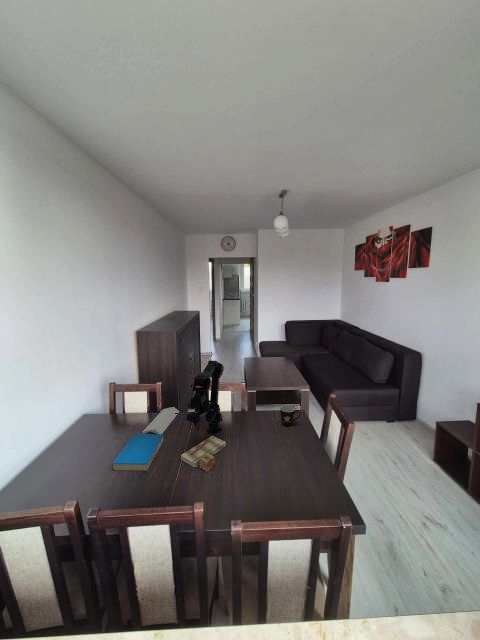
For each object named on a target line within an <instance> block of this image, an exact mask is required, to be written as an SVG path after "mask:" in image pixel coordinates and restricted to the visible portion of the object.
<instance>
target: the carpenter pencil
mask: <svg viewBox="0 0 480 640" xmlns="http://www.w3.org/2000/svg"><path fill="white" fill-rule="evenodd" d="M205 440H206V439H205ZM208 442H209V440H206V441H205V442H204V443H203V444H202V445H200V446H199V447H198V448H197V449H195V450H194V451H193V452H192V453H190V455H193V454H194V453H196V452H197V451H198V450H199V449H200V448H202V447H203V446H204V445H205V444H206V443H208Z"/></svg>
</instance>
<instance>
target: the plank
mask: <svg viewBox="0 0 480 640" xmlns="http://www.w3.org/2000/svg"><path fill="white" fill-rule="evenodd" d="M206 440H209V442H208V443H206V444H205V445H204V446H203V447H202V448H200V449H199V450H198V451H197V452H196V453H194V454H193V455H190V453H192V452H193V451H194V450H195V449H197V448H198V447H199V446H200V445H202V444H203V443H204V442H205V441H206ZM226 445H227V442H226V441H225V440H222V439H220V438H218V437H216V436H214V435H211V436H209V437H208V438H206V439H205V440H203V441H202V442H200V443H198V444H197V445H195V446H193V447H191V448H190V449H189V450H187V451H185V452H184V453H182V454H181V455H180V460H181V461H182V462H184V463H186V464H188V465H189V466H191V467H192V468H194V467H196V468H198V465H199V458H200V457H202V456H203V455H204V454H206V453H208V454H210V455H212V456H214V455H215V454H217V453H218V452H220V451H221V450H223V449H224V448H225V447H226ZM199 466H200V465H199Z"/></svg>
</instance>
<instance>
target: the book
mask: <svg viewBox="0 0 480 640" xmlns="http://www.w3.org/2000/svg"><path fill="white" fill-rule="evenodd" d="M164 434H165V433H164ZM164 434H163V433H162V434H155V433H153V434H152V433H151V434H150V433H146V434H145V433H134V435H132V437H131V438H130V439H129V441H128V442H127V443H126V445H125V446H124V447H123V449H122V450H121V451H120V453H119V455H118V456H116V459H115V460H114V461H113V462H112V464H111V465H112V466H111V468H112V470H114V471H148V470H149V468H150V466H151V464H152V463H153V460H154V459H155V457H156V455H157V453H158V451H159V449H160V448H161V446H162V444H163V442H164V436H165V435H164Z"/></svg>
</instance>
